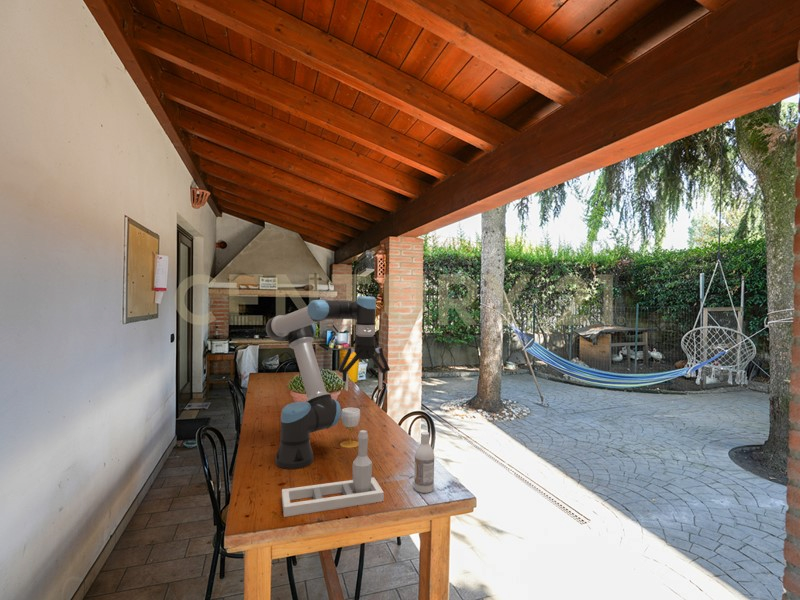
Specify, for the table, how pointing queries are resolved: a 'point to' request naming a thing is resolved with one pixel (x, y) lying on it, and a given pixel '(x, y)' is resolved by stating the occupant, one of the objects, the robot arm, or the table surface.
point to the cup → (350, 424)
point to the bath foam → (424, 466)
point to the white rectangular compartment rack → (330, 502)
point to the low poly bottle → (362, 466)
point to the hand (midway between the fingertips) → (363, 389)
